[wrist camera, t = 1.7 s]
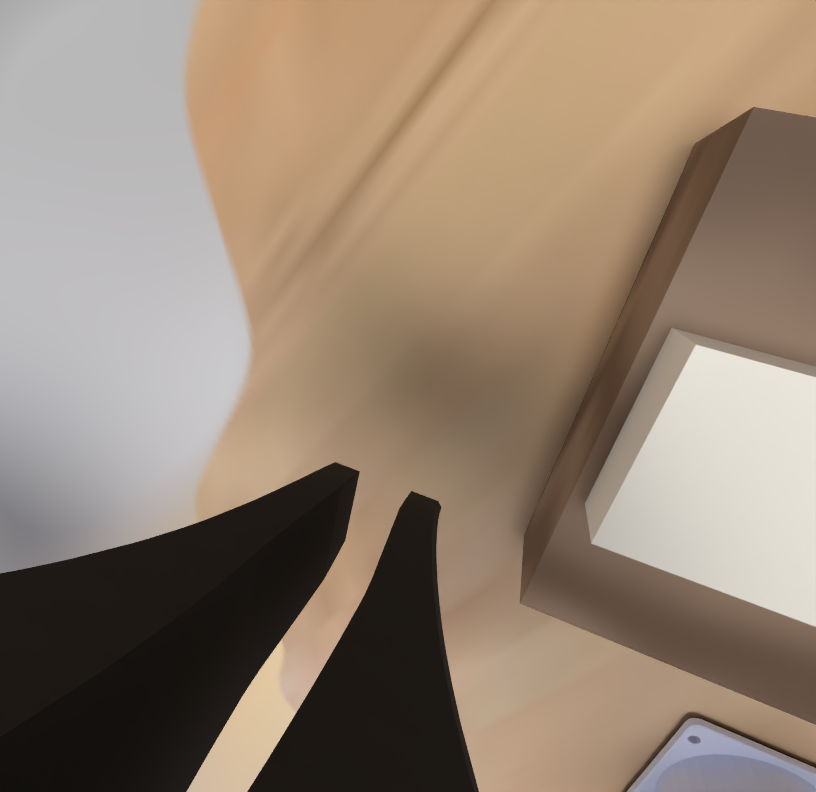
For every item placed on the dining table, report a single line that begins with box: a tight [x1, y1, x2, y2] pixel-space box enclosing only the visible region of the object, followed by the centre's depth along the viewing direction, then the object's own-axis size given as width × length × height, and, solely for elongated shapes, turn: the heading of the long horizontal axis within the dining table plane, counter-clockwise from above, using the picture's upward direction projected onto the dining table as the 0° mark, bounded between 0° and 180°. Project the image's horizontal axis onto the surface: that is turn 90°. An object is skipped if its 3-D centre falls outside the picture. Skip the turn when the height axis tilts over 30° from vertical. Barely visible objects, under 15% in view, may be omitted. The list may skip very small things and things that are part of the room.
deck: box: [520, 107, 816, 724], centre depth 13 cm, size 16×12×4 cm
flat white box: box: [585, 328, 816, 627], centre depth 11 cm, size 6×9×2 cm, turn 77°
